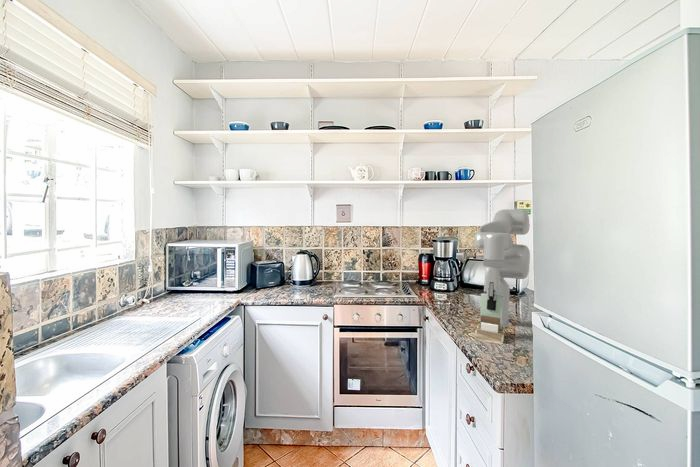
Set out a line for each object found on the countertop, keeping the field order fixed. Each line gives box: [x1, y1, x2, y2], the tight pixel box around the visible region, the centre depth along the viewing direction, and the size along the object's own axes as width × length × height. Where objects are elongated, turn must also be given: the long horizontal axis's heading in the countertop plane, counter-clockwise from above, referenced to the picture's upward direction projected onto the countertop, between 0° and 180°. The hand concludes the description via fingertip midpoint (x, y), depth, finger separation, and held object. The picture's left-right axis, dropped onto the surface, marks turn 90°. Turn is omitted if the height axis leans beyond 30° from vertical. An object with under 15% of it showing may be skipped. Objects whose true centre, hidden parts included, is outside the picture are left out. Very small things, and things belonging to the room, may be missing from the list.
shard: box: [467, 320, 478, 326], centre depth 142 cm, size 11×8×2 cm
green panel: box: [479, 293, 503, 329], centre depth 124 cm, size 2×8×16 cm, turn 61°
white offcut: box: [481, 322, 498, 333], centre depth 119 cm, size 2×6×6 cm, turn 61°
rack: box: [474, 322, 505, 345], centre depth 122 cm, size 11×10×5 cm
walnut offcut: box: [479, 315, 500, 331], centre depth 122 cm, size 2×7×8 cm, turn 61°
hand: (491, 308), depth 124 cm, fingers closed on green panel, 2 cm apart
